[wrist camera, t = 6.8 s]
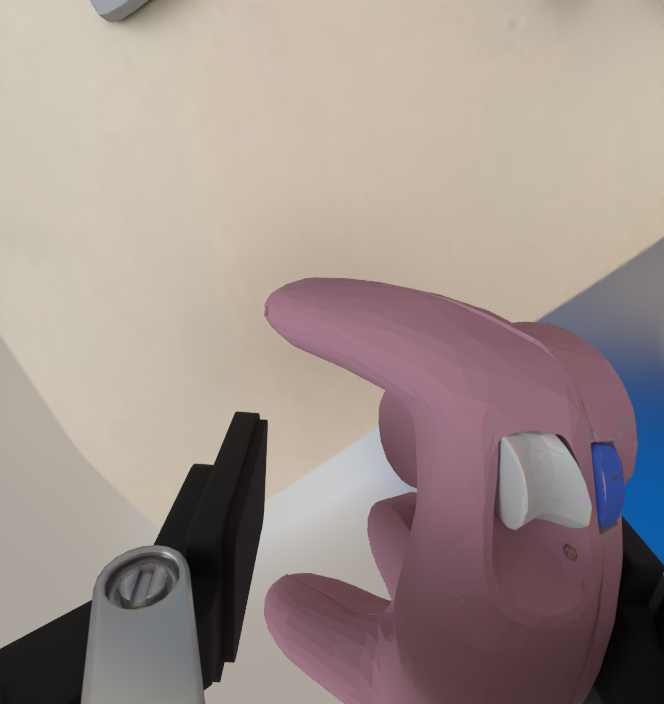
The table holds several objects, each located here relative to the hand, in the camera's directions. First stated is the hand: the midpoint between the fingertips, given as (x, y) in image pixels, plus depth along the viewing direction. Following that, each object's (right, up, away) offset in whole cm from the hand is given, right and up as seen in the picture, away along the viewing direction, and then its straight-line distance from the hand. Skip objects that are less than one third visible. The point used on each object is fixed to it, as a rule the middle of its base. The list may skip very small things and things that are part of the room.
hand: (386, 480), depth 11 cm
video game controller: (0, 0, +1) cm, 1 cm away
